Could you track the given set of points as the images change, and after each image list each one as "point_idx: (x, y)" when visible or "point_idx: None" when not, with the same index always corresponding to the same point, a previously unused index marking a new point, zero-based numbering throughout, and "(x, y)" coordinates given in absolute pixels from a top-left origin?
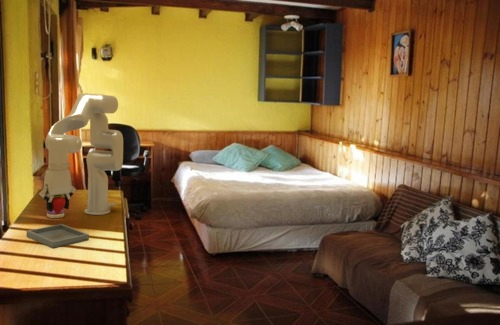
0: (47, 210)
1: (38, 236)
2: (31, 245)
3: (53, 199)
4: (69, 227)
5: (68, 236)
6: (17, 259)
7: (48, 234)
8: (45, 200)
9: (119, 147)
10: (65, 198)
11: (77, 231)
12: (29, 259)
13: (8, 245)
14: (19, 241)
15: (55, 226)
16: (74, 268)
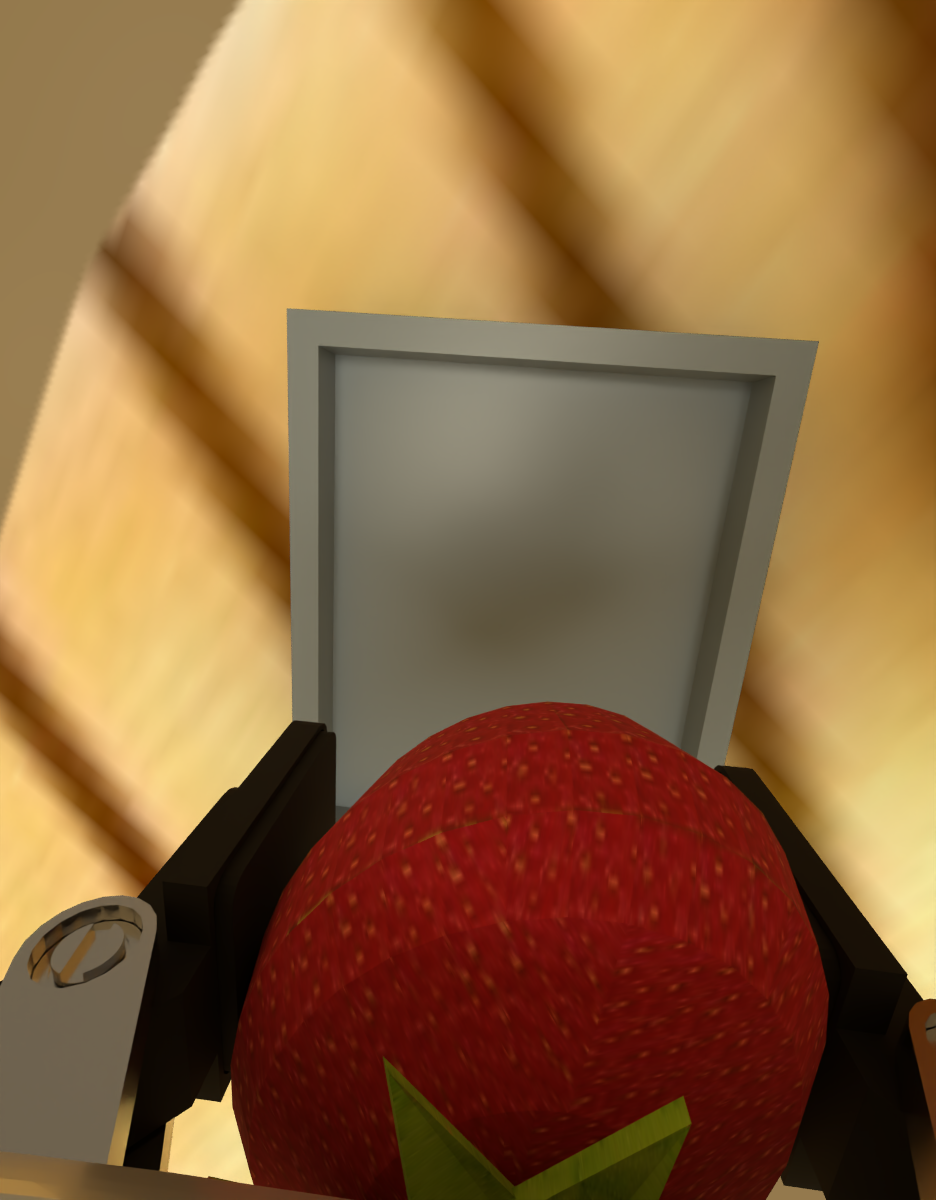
0: (300, 727)
1: (294, 592)
2: (218, 621)
3: (247, 1162)
4: (751, 564)
5: (589, 697)
6: (4, 817)
7: (488, 493)
8: (52, 933)
9: None
10: (832, 1122)
11: (697, 743)
12: (70, 872)
13: (57, 473)
14: (185, 432)
15: (682, 372)
16: (218, 1149)
